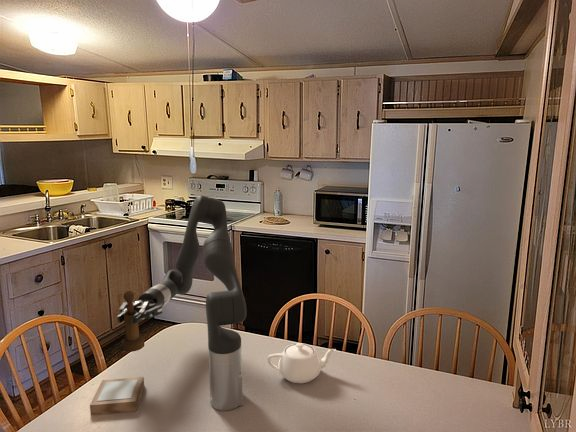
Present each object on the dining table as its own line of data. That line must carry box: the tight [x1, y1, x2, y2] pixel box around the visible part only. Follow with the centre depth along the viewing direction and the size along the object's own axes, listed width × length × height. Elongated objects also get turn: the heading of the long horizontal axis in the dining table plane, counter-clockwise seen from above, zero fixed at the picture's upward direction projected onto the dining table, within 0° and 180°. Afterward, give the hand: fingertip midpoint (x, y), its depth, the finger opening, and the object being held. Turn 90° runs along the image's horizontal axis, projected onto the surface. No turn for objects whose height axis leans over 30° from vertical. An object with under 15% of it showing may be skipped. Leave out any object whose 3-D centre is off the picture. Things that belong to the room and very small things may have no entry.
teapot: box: [267, 342, 337, 384], centre depth 133 cm, size 22×14×11 cm, turn 94°
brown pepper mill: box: [120, 290, 145, 353], centre depth 126 cm, size 7×6×18 cm
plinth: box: [89, 376, 145, 416], centre depth 121 cm, size 12×12×3 cm
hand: (125, 320), depth 123 cm, fingers closed on brown pepper mill, 4 cm apart
